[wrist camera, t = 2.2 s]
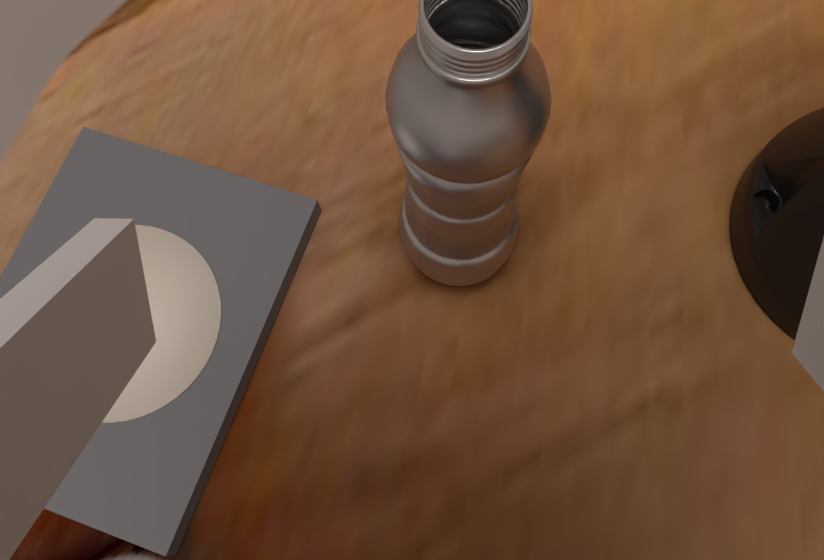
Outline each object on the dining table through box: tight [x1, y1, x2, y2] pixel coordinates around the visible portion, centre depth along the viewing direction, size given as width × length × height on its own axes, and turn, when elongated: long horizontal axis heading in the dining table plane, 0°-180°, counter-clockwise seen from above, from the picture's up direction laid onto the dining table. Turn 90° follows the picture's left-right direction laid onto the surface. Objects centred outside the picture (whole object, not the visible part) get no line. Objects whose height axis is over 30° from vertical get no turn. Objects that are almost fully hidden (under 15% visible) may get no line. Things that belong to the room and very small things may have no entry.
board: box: [0, 127, 321, 556], centre depth 39 cm, size 20×15×2 cm
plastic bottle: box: [385, 0, 551, 286], centre depth 32 cm, size 6×7×20 cm
